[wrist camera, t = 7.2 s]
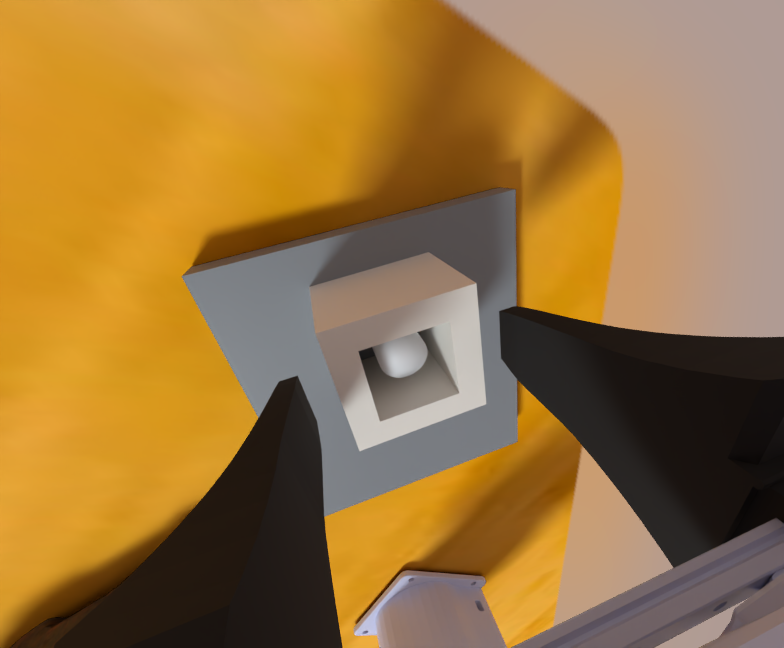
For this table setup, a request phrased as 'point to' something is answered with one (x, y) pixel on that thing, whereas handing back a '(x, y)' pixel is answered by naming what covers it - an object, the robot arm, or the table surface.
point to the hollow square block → (395, 320)
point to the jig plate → (292, 348)
